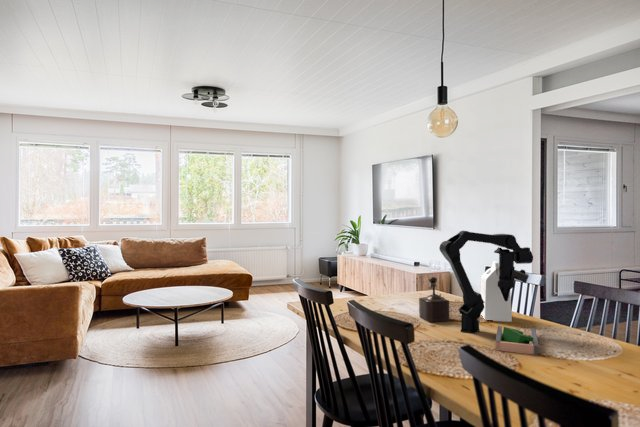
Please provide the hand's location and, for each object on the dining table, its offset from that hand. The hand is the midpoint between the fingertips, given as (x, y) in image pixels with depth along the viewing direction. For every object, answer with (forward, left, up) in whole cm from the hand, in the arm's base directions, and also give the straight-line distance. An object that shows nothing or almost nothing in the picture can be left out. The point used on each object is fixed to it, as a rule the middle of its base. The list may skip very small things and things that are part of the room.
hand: (506, 300), depth 191 cm
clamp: (+4, -22, -12) cm, 26 cm away
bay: (+4, -19, -12) cm, 23 cm away
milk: (-5, +19, -12) cm, 23 cm away
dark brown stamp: (-32, +8, -12) cm, 35 cm away
